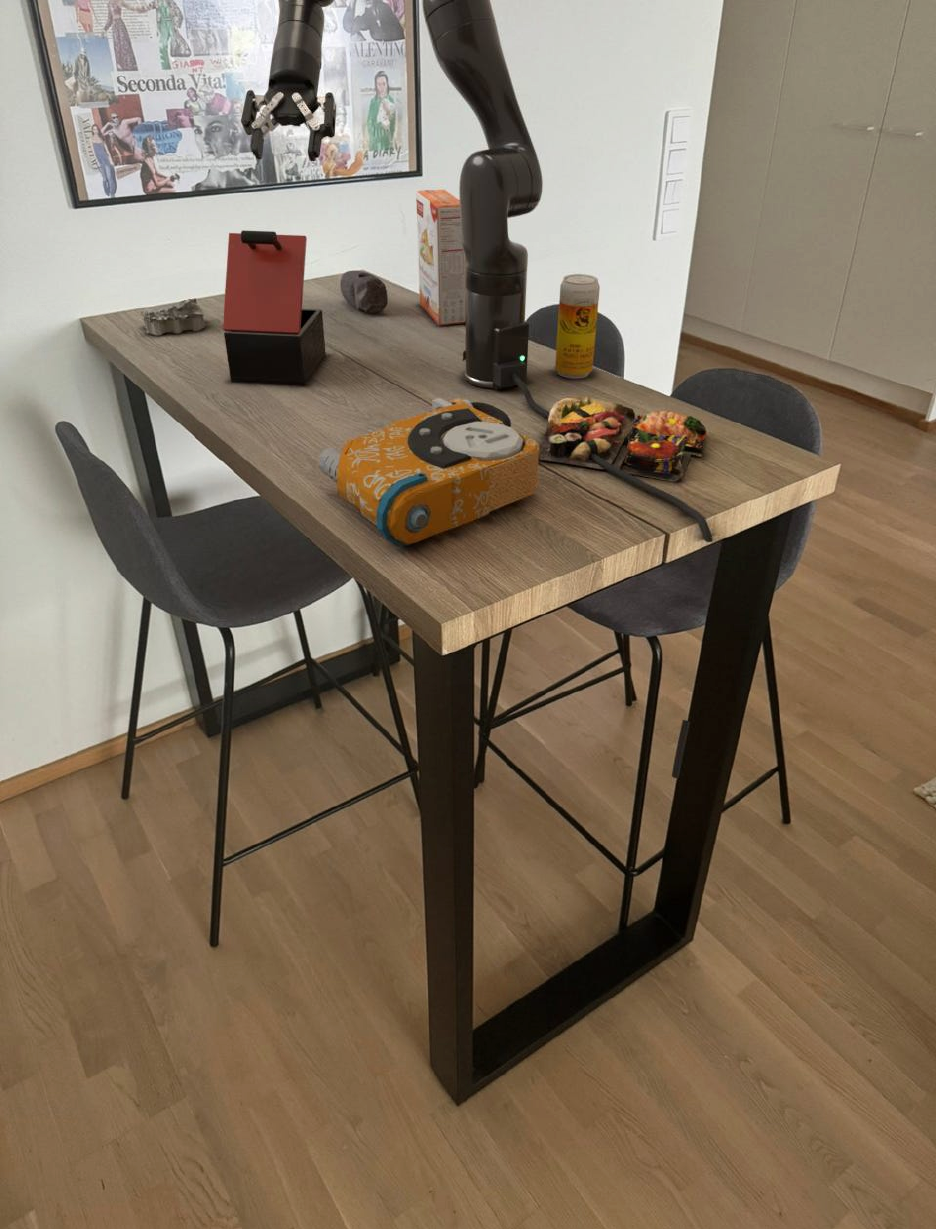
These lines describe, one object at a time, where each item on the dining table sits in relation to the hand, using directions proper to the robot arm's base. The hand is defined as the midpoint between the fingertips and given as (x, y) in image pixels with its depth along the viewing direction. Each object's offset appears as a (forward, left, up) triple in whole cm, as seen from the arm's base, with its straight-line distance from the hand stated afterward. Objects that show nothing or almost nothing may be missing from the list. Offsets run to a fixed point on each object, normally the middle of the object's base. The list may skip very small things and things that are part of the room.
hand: (284, 157), depth 138 cm
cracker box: (+1, -31, -30) cm, 43 cm away
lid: (-8, +9, -16) cm, 20 cm away
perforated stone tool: (+14, -21, -30) cm, 40 cm away
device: (-56, +13, -30) cm, 65 cm away
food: (-61, -15, -30) cm, 70 cm away
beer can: (-37, -29, -30) cm, 56 cm away
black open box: (-6, +8, -30) cm, 32 cm away
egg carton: (+24, +13, -30) cm, 41 cm away
